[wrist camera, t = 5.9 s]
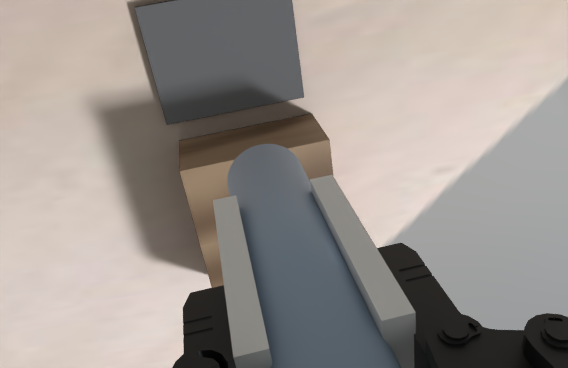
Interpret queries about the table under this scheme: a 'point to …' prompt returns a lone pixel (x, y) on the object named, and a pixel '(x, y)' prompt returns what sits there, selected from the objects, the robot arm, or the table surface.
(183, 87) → the mat
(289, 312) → the dowel
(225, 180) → the socket block
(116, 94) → the table surface
